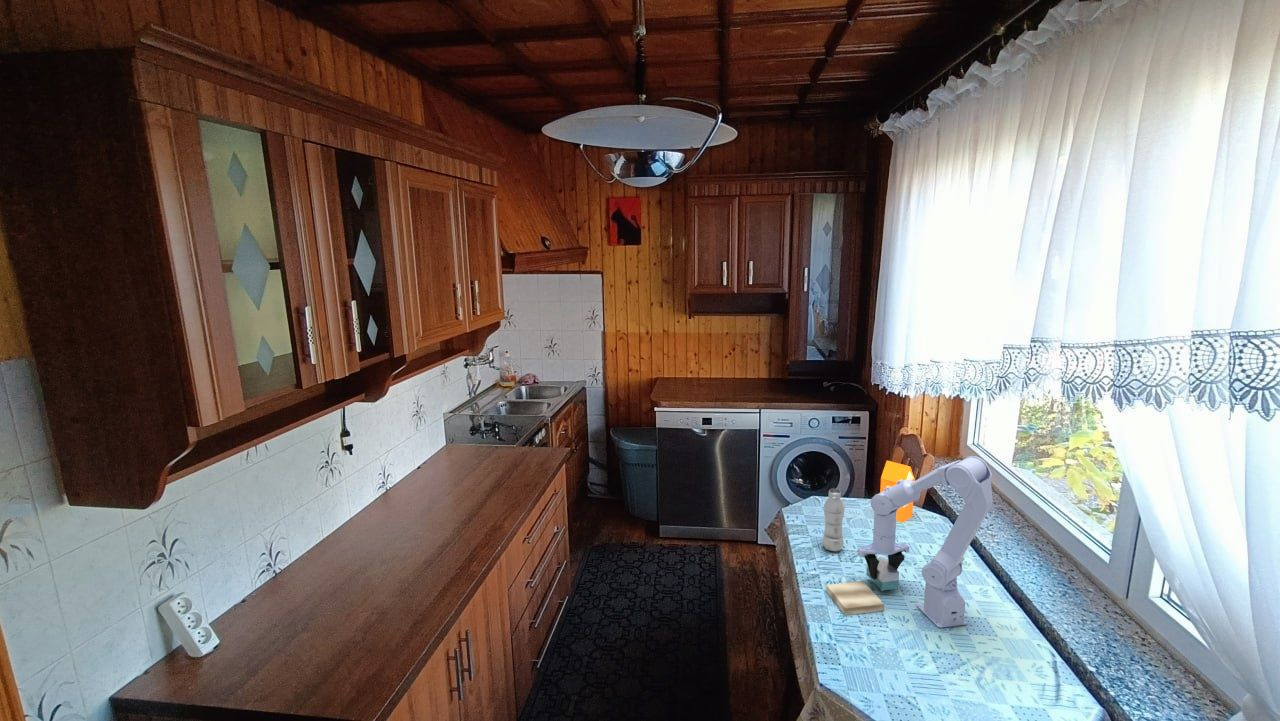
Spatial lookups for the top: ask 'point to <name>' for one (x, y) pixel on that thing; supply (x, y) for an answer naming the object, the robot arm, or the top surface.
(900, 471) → the orange juice
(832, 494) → the plastic bottle
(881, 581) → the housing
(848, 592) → the stand
